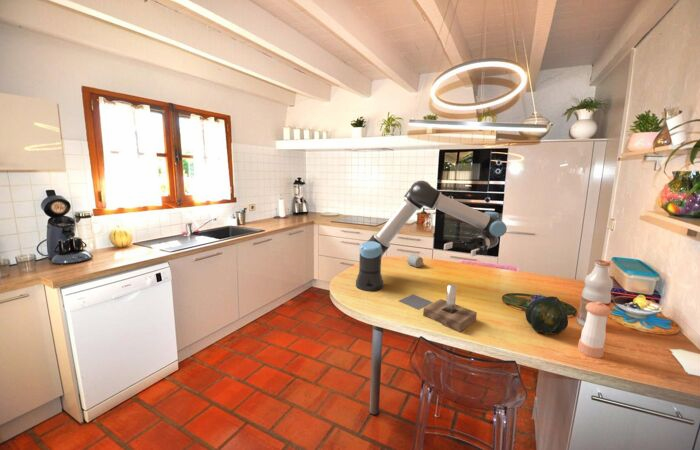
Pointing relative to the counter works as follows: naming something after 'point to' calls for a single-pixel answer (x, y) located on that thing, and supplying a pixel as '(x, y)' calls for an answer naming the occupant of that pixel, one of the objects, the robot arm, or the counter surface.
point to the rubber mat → (415, 302)
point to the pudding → (537, 297)
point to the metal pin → (451, 298)
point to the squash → (547, 315)
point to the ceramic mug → (415, 260)
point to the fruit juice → (596, 289)
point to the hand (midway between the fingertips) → (457, 250)
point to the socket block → (450, 315)
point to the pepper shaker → (594, 330)
